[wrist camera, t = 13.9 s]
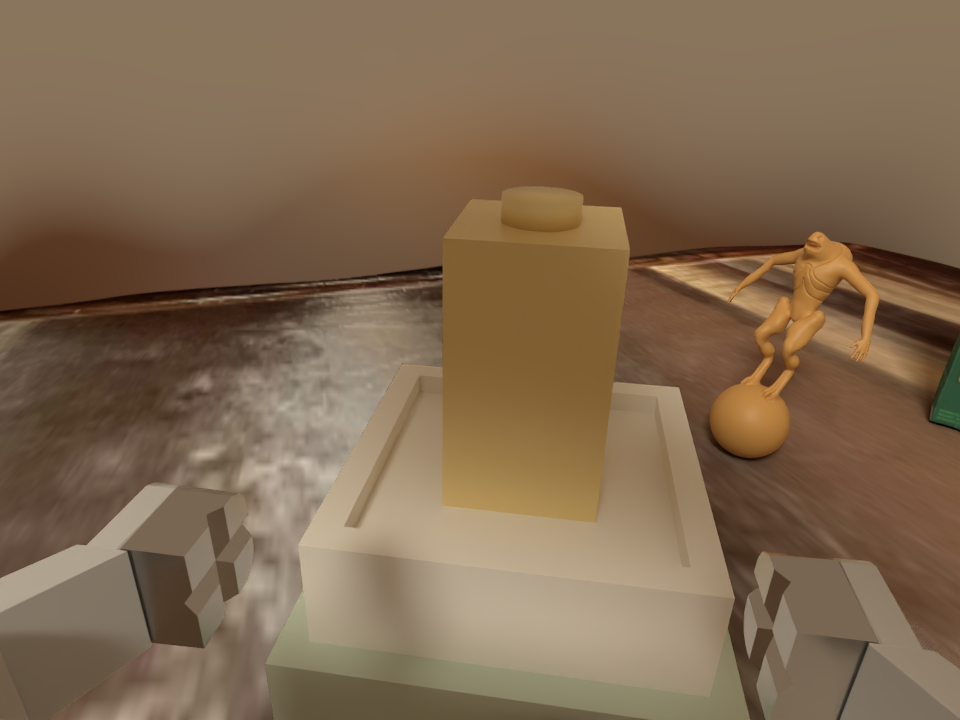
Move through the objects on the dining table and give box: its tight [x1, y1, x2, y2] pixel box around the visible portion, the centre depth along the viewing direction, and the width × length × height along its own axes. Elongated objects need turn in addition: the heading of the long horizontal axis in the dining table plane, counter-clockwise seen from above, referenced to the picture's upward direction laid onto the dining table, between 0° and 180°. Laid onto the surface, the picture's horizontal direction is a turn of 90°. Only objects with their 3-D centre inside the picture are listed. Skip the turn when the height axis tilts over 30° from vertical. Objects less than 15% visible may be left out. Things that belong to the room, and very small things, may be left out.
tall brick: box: [442, 186, 630, 523], centre depth 22 cm, size 5×5×10 cm
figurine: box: [710, 232, 879, 458], centre depth 34 cm, size 8×6×12 cm
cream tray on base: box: [265, 363, 750, 720], centre depth 25 cm, size 14×14×7 cm
